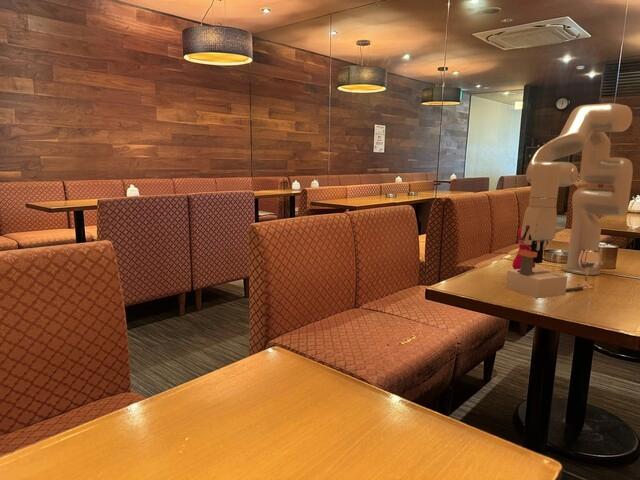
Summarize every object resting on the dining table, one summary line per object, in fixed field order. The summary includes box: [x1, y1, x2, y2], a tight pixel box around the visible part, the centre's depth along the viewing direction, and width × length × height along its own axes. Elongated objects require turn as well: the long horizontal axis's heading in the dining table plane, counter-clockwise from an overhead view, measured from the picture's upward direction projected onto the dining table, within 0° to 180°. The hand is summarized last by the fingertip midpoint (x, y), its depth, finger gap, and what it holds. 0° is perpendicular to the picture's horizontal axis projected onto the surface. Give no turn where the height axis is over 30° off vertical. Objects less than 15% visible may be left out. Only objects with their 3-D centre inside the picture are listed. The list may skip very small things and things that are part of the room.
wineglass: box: [577, 250, 600, 289], centre depth 148 cm, size 6×6×12 cm
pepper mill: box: [511, 226, 536, 269], centre depth 156 cm, size 7×7×20 cm
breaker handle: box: [517, 249, 537, 275], centre depth 137 cm, size 3×4×7 cm
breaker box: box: [505, 266, 584, 300], centre depth 143 cm, size 22×12×6 cm, turn 114°
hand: (535, 262), depth 139 cm, fingers closed
